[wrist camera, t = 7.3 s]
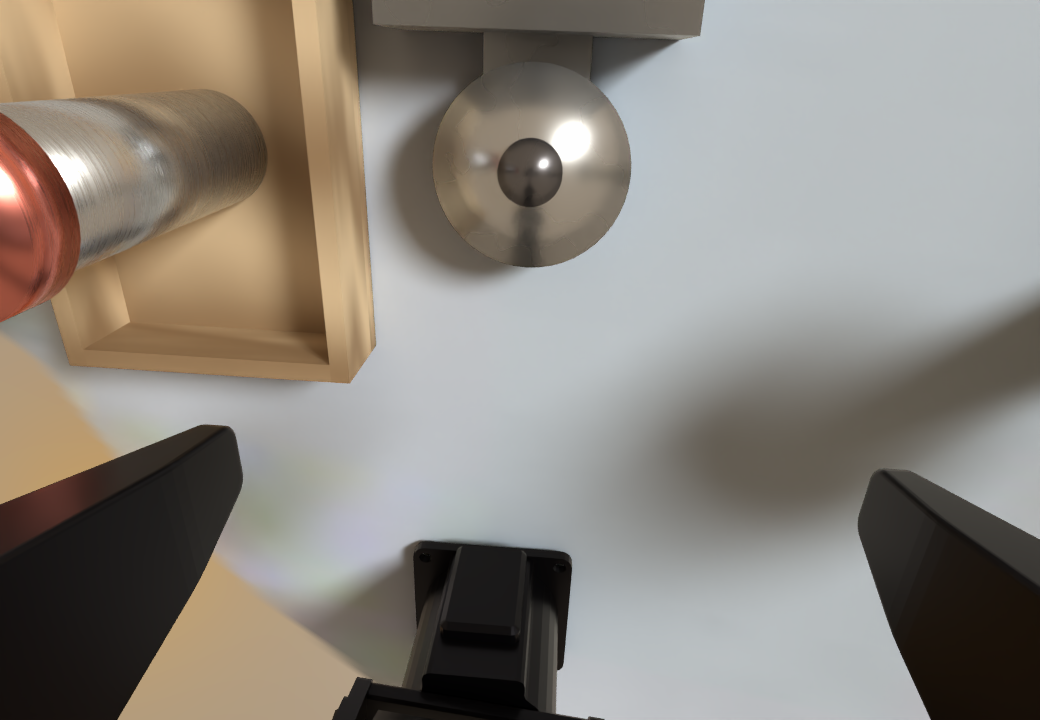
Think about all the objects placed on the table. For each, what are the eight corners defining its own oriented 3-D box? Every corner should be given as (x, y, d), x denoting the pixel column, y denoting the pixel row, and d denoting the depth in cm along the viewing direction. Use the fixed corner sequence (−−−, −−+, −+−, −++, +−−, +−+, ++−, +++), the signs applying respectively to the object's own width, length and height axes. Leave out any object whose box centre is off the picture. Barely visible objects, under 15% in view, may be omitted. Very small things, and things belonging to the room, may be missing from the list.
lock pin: (284, 216, 20) (59, 338, 11) (163, 210, 21) (-152, 325, 12) (267, 80, 19) (-13, 97, 10) (136, 75, 19) (-258, 87, 10)
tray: (375, 345, 23) (349, 383, 20) (128, 330, 23) (69, 365, 21) (345, -102, 17) (303, -132, 14) (19, -110, 18) (-80, -141, 15)
